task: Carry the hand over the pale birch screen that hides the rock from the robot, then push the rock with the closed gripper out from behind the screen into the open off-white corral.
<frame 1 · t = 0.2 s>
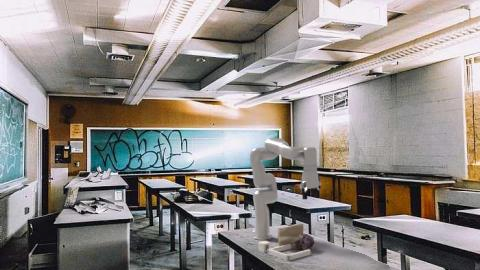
hand: (310, 198, 218), 31 cm above the table, fingers open, 9 cm apart
screen: (291, 246, 231), on the table
corral: (289, 253, 215), on the table
letter cube: (264, 250, 222), on the table
rock: (305, 250, 223), on the table
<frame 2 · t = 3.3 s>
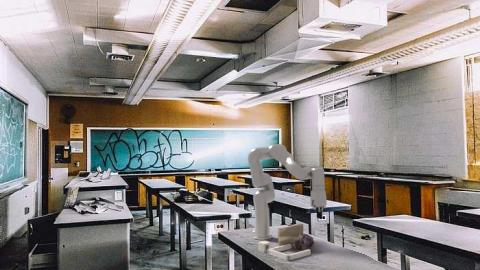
hand: (319, 218, 230), 17 cm above the table, fingers closed
nothing on the table moved.
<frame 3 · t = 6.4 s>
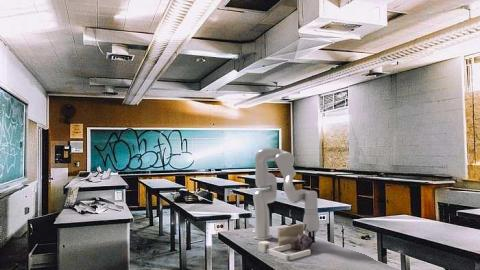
hand: (312, 242, 226), 3 cm above the table, fingers closed
rock: (304, 250, 222), on the table, touching gripper
everything else where it was.
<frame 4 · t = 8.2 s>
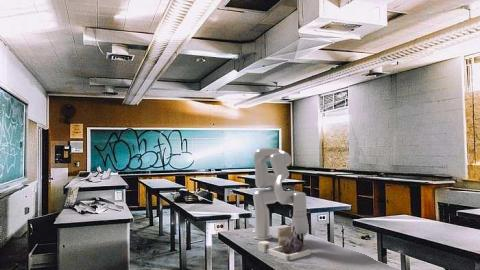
hand: (300, 245, 220), 3 cm above the table, fingers closed
rock: (293, 253, 215), on the table, touching gripper
everything else where it was.
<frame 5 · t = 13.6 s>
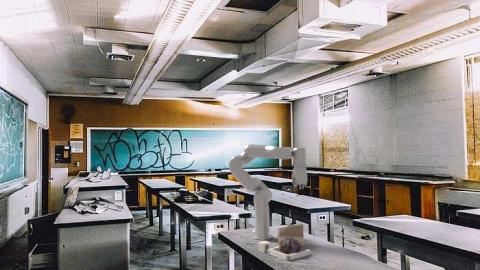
hand: (300, 195, 244), 29 cm above the table, fingers closed
rock: (291, 254, 214), on the table
everything else where it was.
at the end: rock inside the target area on the corral (1.6 cm from its centre), point 0.0 cm above the corral's base; rock moved 13.0 cm from its start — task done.
